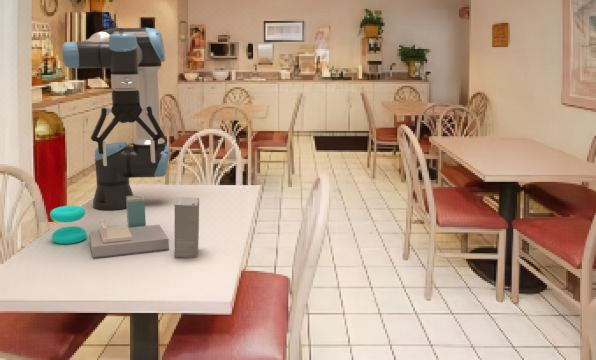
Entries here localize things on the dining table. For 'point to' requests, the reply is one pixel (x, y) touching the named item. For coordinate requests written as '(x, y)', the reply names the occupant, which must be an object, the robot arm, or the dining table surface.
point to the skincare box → (186, 227)
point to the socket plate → (130, 242)
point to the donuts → (68, 233)
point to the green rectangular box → (135, 211)
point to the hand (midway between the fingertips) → (129, 163)
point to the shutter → (114, 233)
